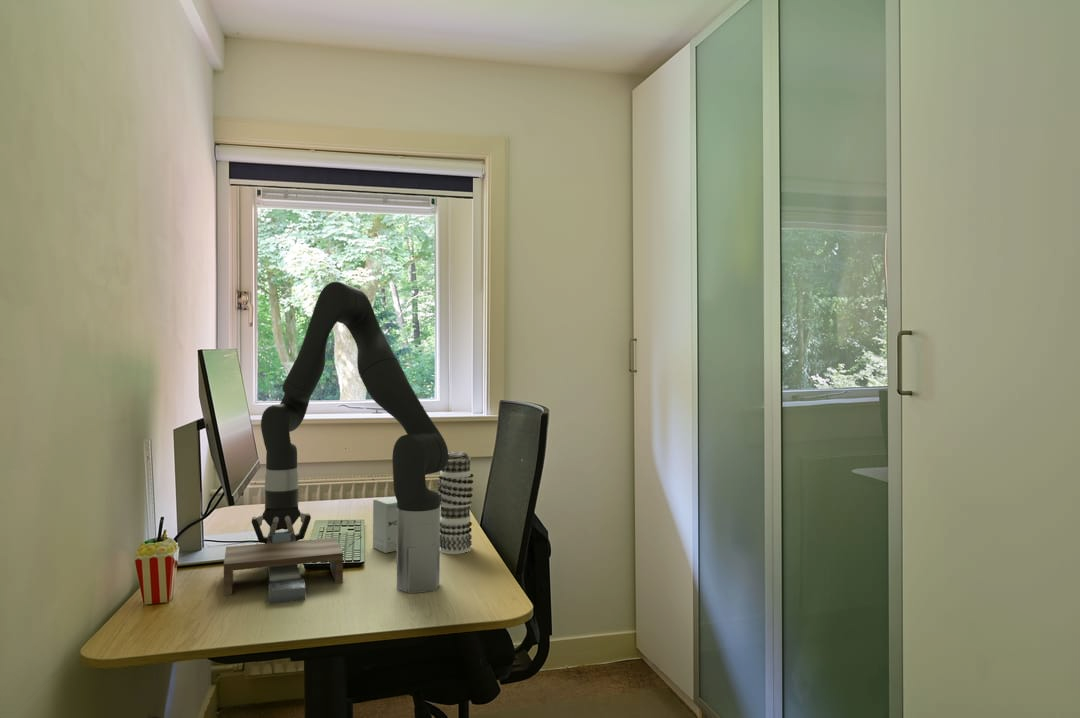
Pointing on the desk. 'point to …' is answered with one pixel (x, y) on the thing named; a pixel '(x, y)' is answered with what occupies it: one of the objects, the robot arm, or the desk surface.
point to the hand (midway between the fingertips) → (281, 557)
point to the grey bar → (286, 570)
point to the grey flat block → (286, 590)
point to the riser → (282, 557)
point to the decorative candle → (455, 504)
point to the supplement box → (385, 524)
